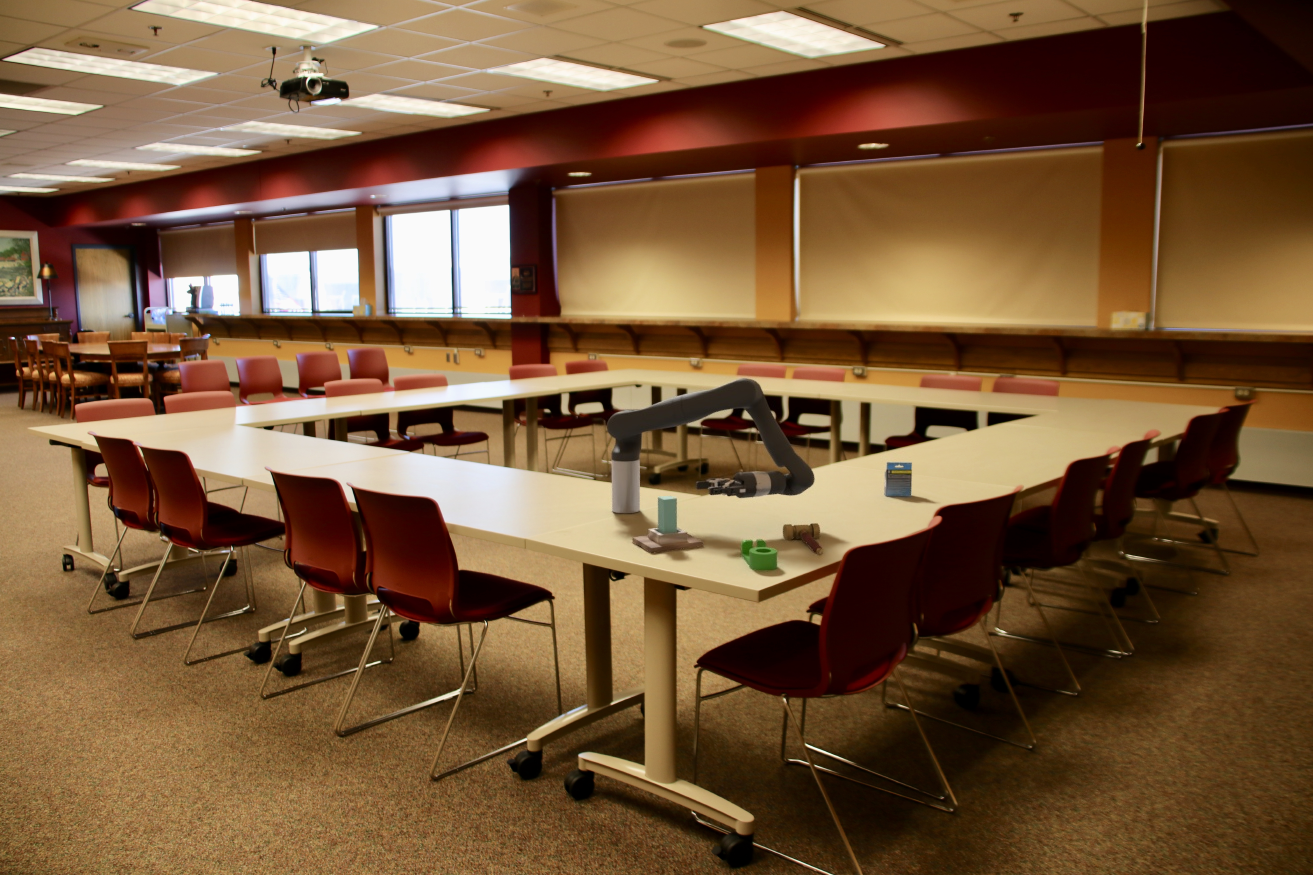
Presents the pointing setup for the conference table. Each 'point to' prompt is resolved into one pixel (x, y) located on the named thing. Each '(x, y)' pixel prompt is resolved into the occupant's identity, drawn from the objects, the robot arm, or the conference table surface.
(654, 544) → the walnut socket plate
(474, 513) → the conference table surface
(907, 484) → the label tape cartridge
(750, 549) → the green slotted bracket
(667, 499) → the teal post
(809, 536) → the gavel
